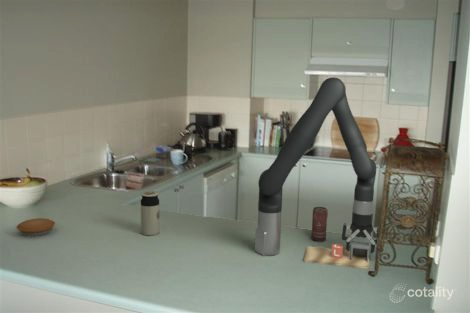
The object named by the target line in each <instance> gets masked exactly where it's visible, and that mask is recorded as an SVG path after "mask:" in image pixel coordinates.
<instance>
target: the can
mask: <svg viewBox="0 0 470 313" xmlns="http://www.w3.org/2000/svg"><path fill="white" fill-rule="evenodd" d="M328 210H329V209H327V208H326V207H323V206H316V207H313V209H312V219H311V220H312V221H311V240H312V241H314V242H317V243H323V242H325V241H326V240H327V223H328V222H327V221H328V215H329V211H328Z"/></svg>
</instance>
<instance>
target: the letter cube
mask: <svg viewBox="0 0 470 313" xmlns="http://www.w3.org/2000/svg"><path fill="white" fill-rule="evenodd" d="M331 249H332V258H341V259H342V254H343V250H344V245H343V244H337V243H332V245H331Z"/></svg>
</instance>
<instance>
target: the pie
mask: <svg viewBox="0 0 470 313" xmlns="http://www.w3.org/2000/svg"><path fill="white" fill-rule="evenodd" d="M55 225H56V222H55V221H54V220H51V219H49V218H43V217H41V218H31V219H27V220H24V221H22V222H20V223H19V224H17V226H16V230H17V231H18V232H20V233H21V234H23V236H24V235H25V236H24V237H27V236H31V237H30V238H36V237H35V236H38V237H41V236H42V235H43V236H46V235H49V234H50V233H51V232H52V229H53V228H54V226H55ZM32 236H33V237H32ZM43 236H42V237H43Z"/></svg>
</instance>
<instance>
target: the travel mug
mask: <svg viewBox="0 0 470 313" xmlns="http://www.w3.org/2000/svg"><path fill="white" fill-rule="evenodd" d="M140 196H141V200H140V226H141V227H140V229H141V230H140V231H141V232H140V233H141V234H142V235H144V236H155V235H158V234H159V233H160V230H161V228H160V227H161V226H160V223H161V222H160V199H159V192H158V191H154V190H149V191H143V192H141V195H140Z"/></svg>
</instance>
